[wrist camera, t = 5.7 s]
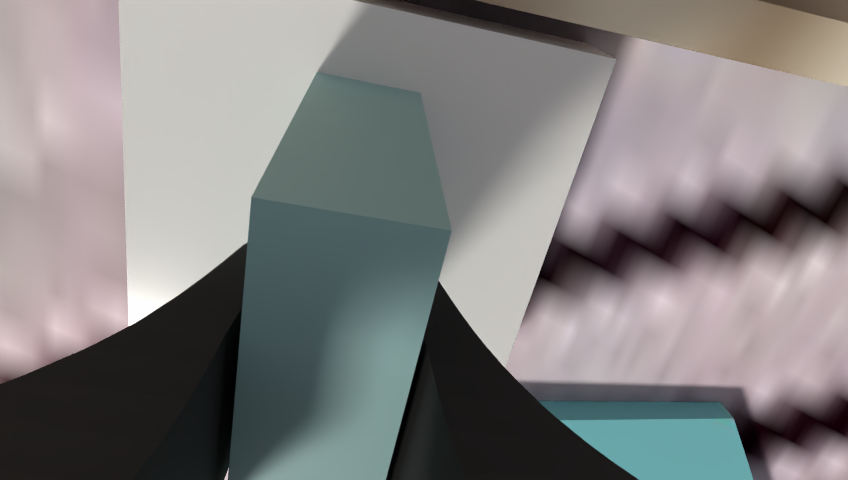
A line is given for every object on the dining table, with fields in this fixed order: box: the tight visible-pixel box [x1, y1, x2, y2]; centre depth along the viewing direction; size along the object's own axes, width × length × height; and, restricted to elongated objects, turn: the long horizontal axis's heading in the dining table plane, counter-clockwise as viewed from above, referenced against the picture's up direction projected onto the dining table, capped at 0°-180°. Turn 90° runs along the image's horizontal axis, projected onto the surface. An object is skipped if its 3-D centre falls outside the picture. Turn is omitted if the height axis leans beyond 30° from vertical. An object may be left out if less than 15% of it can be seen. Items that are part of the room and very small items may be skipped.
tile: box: [119, 0, 617, 367], centre depth 14 cm, size 10×10×2 cm
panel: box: [228, 72, 452, 480], centre depth 11 cm, size 2×7×6 cm, turn 168°
